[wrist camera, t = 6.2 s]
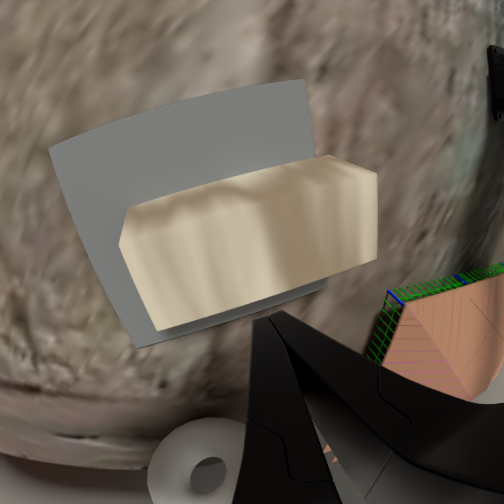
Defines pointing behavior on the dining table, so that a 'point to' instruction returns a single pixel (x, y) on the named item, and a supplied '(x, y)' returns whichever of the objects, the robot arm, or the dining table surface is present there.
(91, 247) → the slate mat
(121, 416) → the dining table surface
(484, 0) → the dining table surface
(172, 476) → the donut
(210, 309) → the birch block
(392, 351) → the house
